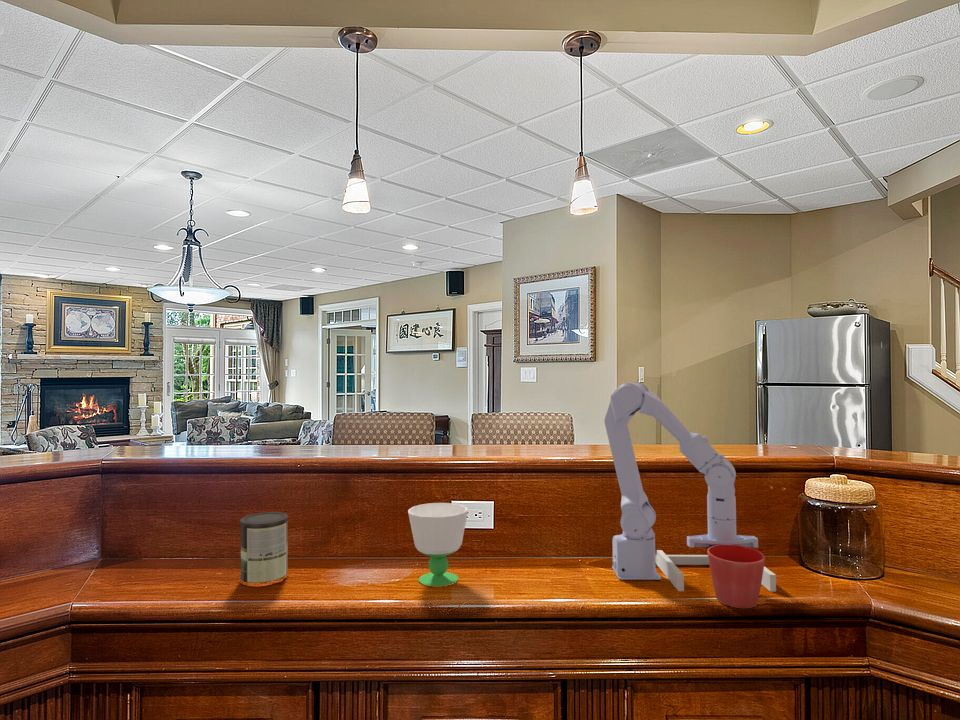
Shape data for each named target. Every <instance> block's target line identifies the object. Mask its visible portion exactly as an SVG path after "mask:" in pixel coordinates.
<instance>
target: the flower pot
mask: <svg viewBox="0 0 960 720" xmlns="http://www.w3.org/2000/svg"><path fill="white" fill-rule="evenodd" d="M706 552H707V555H708V559H709V565H708V566H709V571H710V574H711V581H712V586H713V591H714V594H715V598H716V599H717V601H718V602H719V603H721V604H723V605H725V606H729V607H731V608H738V609H751V608H754V607H756V606H757V605H758V602H759V597H760V593H761V591H760V590H761V587H762V584H761V582H762V576H763V570H764V567H765V562H766V557H765V555H764V554H763V552H762V551H760V550H758V549H755V548H753V547H745V546H740V545H715V546H712V547H710V548H708V550H707V549H706Z"/></svg>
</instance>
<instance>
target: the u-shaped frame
mask: <svg viewBox="0 0 960 720" xmlns="http://www.w3.org/2000/svg"><path fill="white" fill-rule="evenodd" d="M655 565H656V566H657V567H658V568H659V569H660V570H661V571H662V573H663V574H664V576H665V577H666V578H667V579H668V581H670V582H671V584H672V585H673V586H674V587H675V589H676V590H677V591H678V592H685V576H684V575H685V574H684V573H683V572H682V571H681V569H679V568H678V566H682V565H683V566H684V565H685V566H710V565H709V559H708V554H666V553H665V552H664V551H663V550H661V549H656V554H655ZM761 586H763V587H764V588H765V589H767V590H768V591H769V592H770V593H771V592H773V593H774V592H776V593H777V574H776V573H774V572H773V571H771V570H770V569H769V568H767V567H766V566H764V570H763V576H762V582H761Z"/></svg>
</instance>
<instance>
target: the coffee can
mask: <svg viewBox="0 0 960 720" xmlns="http://www.w3.org/2000/svg"><path fill="white" fill-rule="evenodd" d="M288 520H289V515H288V514H287V513H284V512H279V511H265V512H257V513H252V514H248V515H245V516H244V517H242V518H240V519H239V523H240V581H241V580H242V581H244V582H247V583H267V582H271V581H275V580H278V579H281V578H283V577H285V576H286V575H287V574H288V573H289V572H288V562H289V561H288V560H289V559H288V549H289V548H288V546H289V545H288Z"/></svg>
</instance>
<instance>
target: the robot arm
mask: <svg viewBox="0 0 960 720" xmlns="http://www.w3.org/2000/svg"><path fill="white" fill-rule="evenodd" d="M609 401H610V402H609V404H608V407H607V410H606V413H605V417H604V425H605V430H606V434H607V440H608V443H609V448H610V451H611V456H612V460H613V465H614V468H615V473H616V477H617V481H618V485H619V489H620V494H621V501H620V509H621V510H620V511H621V517H620V521H619V523H620V528H621V530H622V533H621V534H616V535H613V537H612V543H611V544H612V566H611V569H613V572H614V574H615V575H616V577H617V579H618V580H621V581H622V580H625V581H626V580H627V581H629V580H631V581H633V580H637V581H638V580H640V581H641V580H642V581H647V580H649V581H653V580H654V581H655V580H659V581H660V580H662V577H661V575H660V574H659V573H658V571H657V570H656V566H657V565H656V533H655V531H654V530H653V526H654V524H655V523H656V520H657V515H656V510H655V509H654V508H653V507H652V506H651V504H650V502H649V499H648V496H647V494H646V493H645V491H644V489H643V488H644V487H643V485H642V480H641V476H640V471H639V468H638V463H637V459H636V455H635V450H634V446H633V443H632V439H631V434H630V431H629V425H628V424H629V423H630V422H631V420H632V419H633V417H634V416H635V414H637V412H638V413H639V414H642V415H646V416H650V417H653V418H654V419H655V420H656V421H657V422H658V423H660V425H661V426H662V427H663V428H665V430H666V431H667V432H668V433H670V435H672V437H674V439H676V440H677V441H678V443H679V444H678V445H679V446H678V447H679V452H680V453H681V454H682V455H683V456H684V457H685V458H686V459H687V460H688V461H689V462H690V464H691V465H693V467H695V469H696V470H697V471H698V472H699V473H702V474H703V475H704V480H705V481H704V482H706V485H707V494H706V495H707V496H706V502H707V503H706V504H707V505H706V506H707V508H706V509H707V518H706V519H707V534H699V535H687V536H686V546H688V547H689V549H690V548H692V549H693V548H695V547H696V548H698V547H699V548H701V547H702V548H704V547H705V549H706V551H707V550H708V548H710V547H712V546H715V545H740V546H745V547H749V548H753V549H755V548H756V549H757V548H759V539H758V537H756V536H755V535H740V534H737V508H736V507H737V504H736V502H737V500H736V499H737V498H736V496H735V494H736V488H735V481H736V477H737V476H736V475H737V473H736V469H735V467H734V465H733V464H732V462H731V461H729V460H727V459H725V458H726V457H725V455H724V454H723V453H721V454H720V453H719V452H718V451H717V450H716V449H715V448H714V447H713V446H712V445H711V444H710V443H709V441H710V438H708V437H707V436H706V435H704V436H702V435H701V434H700V433H697V432H690V431H689V429H688V428H687V427H686V426H685V425H684V424H683V423H682V422H681V421H680V419H679V418H678V417H677V416H676V414H674V413H673V412H672V411H671V409H670V408H669V407H668V406H667V405H666V404H665V402H663V401H662V399H660V398H659V397H658V395H656V393H654V392H653V391H652V390H650V389H649V388H648V387H647V385H645V384H644V383H641V382H637V381H636V382H635V381H633V382H626V383H625V382H623V383H622V384H621V385H619V386H618V387H617V388H616V389H615V390H614V391H613V393H612V394H611V395H610V399H609Z"/></svg>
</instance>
